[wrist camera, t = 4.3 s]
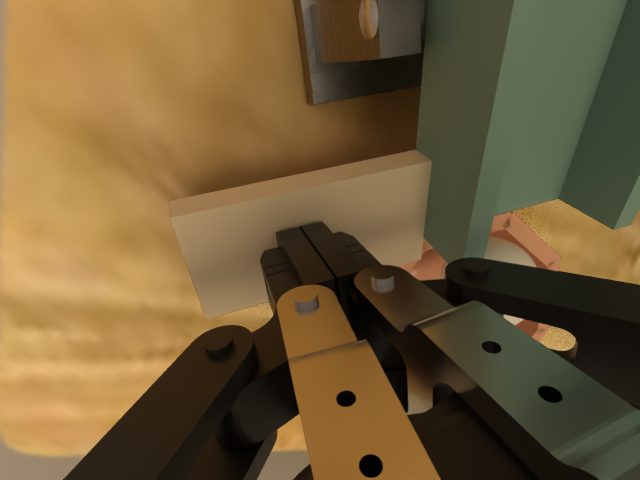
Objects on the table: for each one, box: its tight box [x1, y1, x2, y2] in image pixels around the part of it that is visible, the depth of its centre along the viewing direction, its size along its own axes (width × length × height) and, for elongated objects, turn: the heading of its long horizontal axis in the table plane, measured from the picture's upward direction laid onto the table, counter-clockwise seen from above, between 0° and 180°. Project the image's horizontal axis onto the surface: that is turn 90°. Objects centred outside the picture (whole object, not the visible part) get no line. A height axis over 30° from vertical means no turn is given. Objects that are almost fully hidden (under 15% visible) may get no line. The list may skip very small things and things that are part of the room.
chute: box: [170, 0, 640, 319], centre depth 10 cm, size 15×15×6 cm
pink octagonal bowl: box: [397, 211, 561, 342], centre depth 21 cm, size 12×12×4 cm
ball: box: [440, 237, 536, 325], centre depth 16 cm, size 4×4×4 cm
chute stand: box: [294, 0, 428, 104], centre depth 14 cm, size 11×5×7 cm, turn 98°
